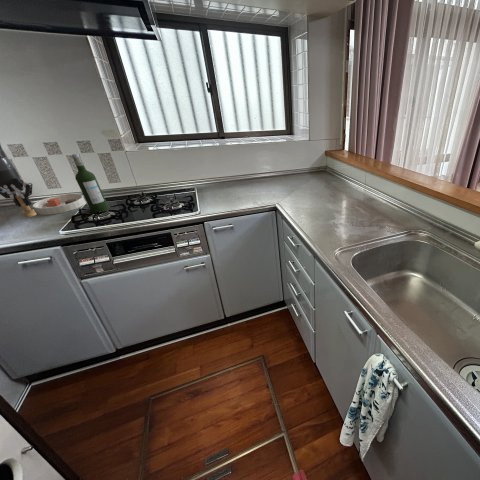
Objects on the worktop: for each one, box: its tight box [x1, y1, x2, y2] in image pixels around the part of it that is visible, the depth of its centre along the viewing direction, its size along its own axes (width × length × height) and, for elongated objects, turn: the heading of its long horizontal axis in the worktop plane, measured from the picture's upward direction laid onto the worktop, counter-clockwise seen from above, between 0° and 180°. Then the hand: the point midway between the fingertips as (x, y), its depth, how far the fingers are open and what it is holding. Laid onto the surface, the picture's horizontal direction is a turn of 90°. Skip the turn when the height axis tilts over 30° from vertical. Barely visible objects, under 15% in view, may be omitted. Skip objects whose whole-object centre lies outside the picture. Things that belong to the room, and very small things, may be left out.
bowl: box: [32, 193, 87, 216], centre depth 148 cm, size 21×21×4 cm
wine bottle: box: [71, 153, 110, 214], centre depth 138 cm, size 8×8×30 cm
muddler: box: [15, 194, 38, 218], centre depth 123 cm, size 4×4×10 cm
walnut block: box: [65, 199, 76, 204], centre depth 148 cm, size 4×4×4 cm
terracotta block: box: [47, 198, 61, 207], centre depth 149 cm, size 4×4×4 cm
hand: (24, 205), depth 123 cm, fingers closed on muddler, 2 cm apart
